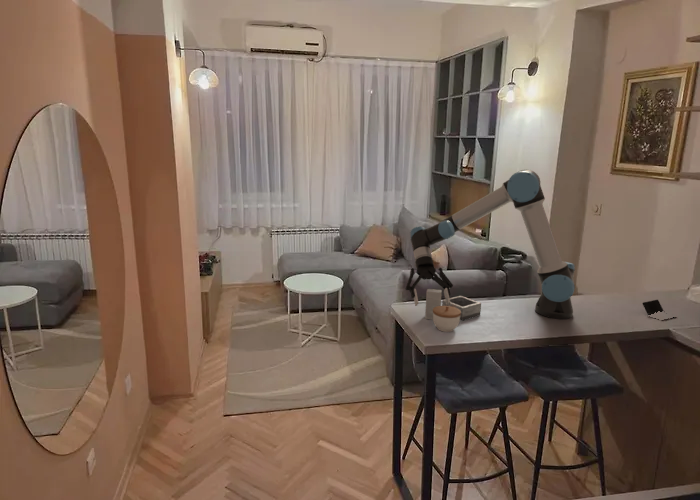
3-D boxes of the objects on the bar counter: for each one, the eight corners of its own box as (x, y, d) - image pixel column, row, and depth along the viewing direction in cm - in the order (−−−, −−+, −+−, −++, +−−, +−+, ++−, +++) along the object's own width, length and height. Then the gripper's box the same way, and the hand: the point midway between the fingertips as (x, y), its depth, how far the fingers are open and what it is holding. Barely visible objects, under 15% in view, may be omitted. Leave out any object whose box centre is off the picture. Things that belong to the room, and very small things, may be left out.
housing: (480, 315, 199) (481, 303, 198) (462, 320, 192) (463, 308, 191) (459, 307, 208) (460, 295, 207) (441, 312, 201) (442, 300, 200)
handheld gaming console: (667, 319, 196) (656, 296, 200) (650, 324, 201) (639, 302, 205) (678, 317, 203) (667, 296, 206) (661, 323, 208) (650, 302, 212)
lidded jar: (464, 333, 180) (466, 310, 178) (439, 335, 177) (441, 312, 175) (451, 322, 190) (452, 300, 188) (427, 324, 187) (428, 302, 185)
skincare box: (440, 317, 196) (442, 289, 193) (439, 320, 192) (441, 293, 189) (425, 315, 197) (427, 288, 194) (424, 319, 193) (426, 291, 190)
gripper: (448, 263, 209) (458, 306, 198) (394, 264, 205) (401, 308, 194) (453, 254, 202) (464, 299, 191) (397, 255, 198) (405, 301, 187)
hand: (432, 304), depth 192 cm, fingers open, 13 cm apart
